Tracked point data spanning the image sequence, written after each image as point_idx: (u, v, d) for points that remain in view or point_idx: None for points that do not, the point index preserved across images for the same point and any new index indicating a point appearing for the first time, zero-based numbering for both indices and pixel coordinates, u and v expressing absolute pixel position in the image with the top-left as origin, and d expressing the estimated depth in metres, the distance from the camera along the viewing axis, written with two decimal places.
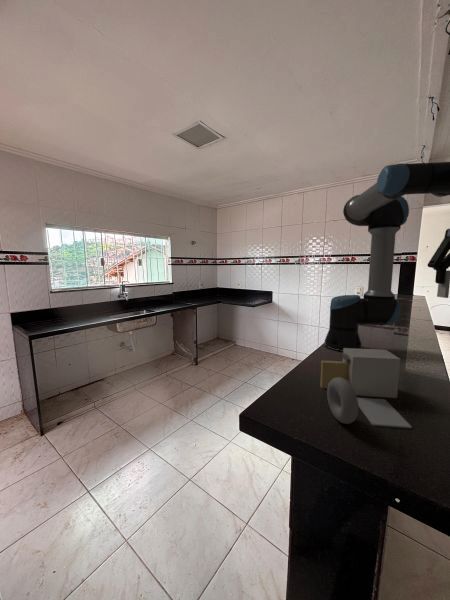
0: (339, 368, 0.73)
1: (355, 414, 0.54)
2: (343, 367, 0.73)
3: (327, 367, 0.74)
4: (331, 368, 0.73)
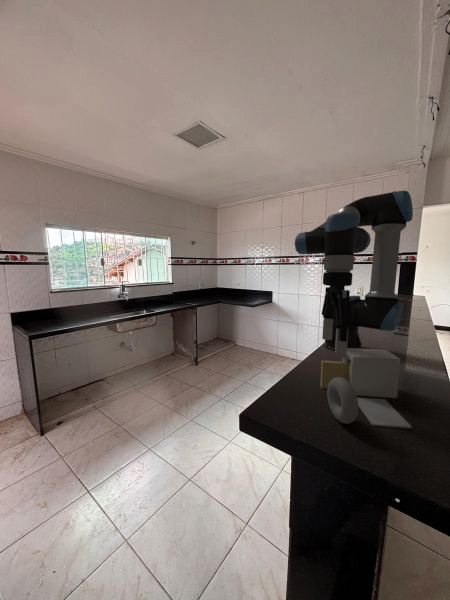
0: (339, 368, 0.73)
1: (355, 414, 0.54)
2: (343, 367, 0.73)
3: (327, 367, 0.74)
4: (331, 368, 0.73)
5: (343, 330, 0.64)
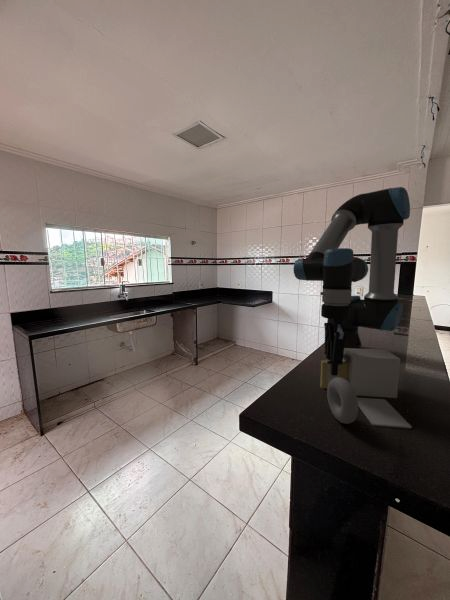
0: (339, 368, 0.73)
1: (355, 414, 0.54)
2: (343, 367, 0.73)
3: (327, 367, 0.74)
4: None
5: (334, 365, 0.71)
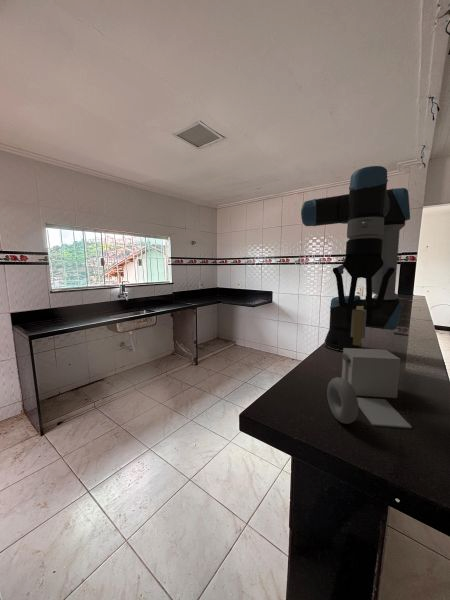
0: None
1: (355, 414, 0.54)
2: None
3: (362, 317, 0.60)
4: (362, 317, 0.61)
5: (372, 312, 0.60)
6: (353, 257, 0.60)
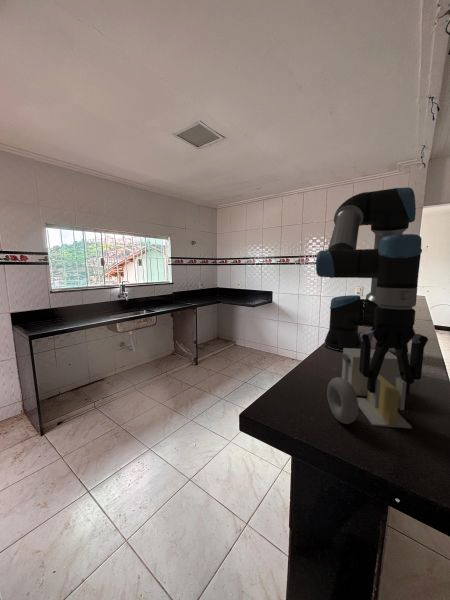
0: None
1: (355, 414, 0.54)
2: None
3: None
4: None
5: None
6: (386, 327, 0.56)
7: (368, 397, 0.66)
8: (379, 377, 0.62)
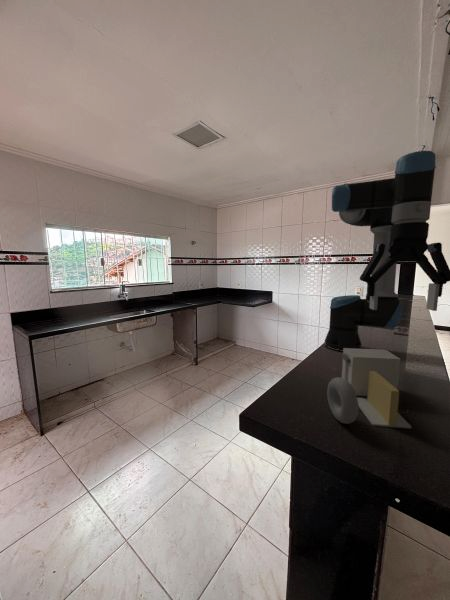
0: None
1: (355, 414, 0.54)
2: None
3: None
4: None
5: None
6: (404, 245, 0.61)
7: (368, 397, 0.66)
8: (379, 377, 0.62)
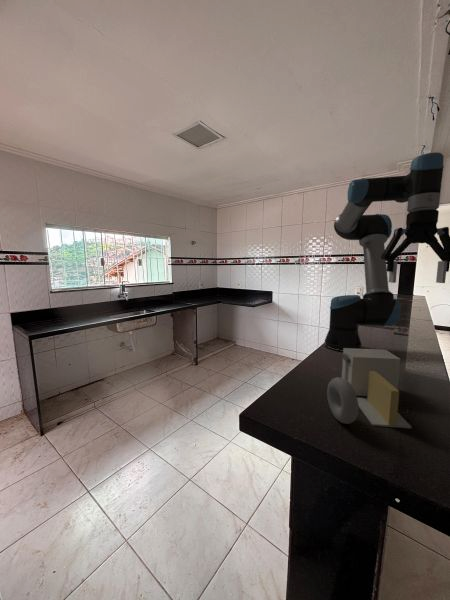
0: None
1: (355, 414, 0.54)
2: None
3: None
4: None
5: None
6: (418, 228, 0.75)
7: (368, 397, 0.66)
8: (379, 377, 0.62)
